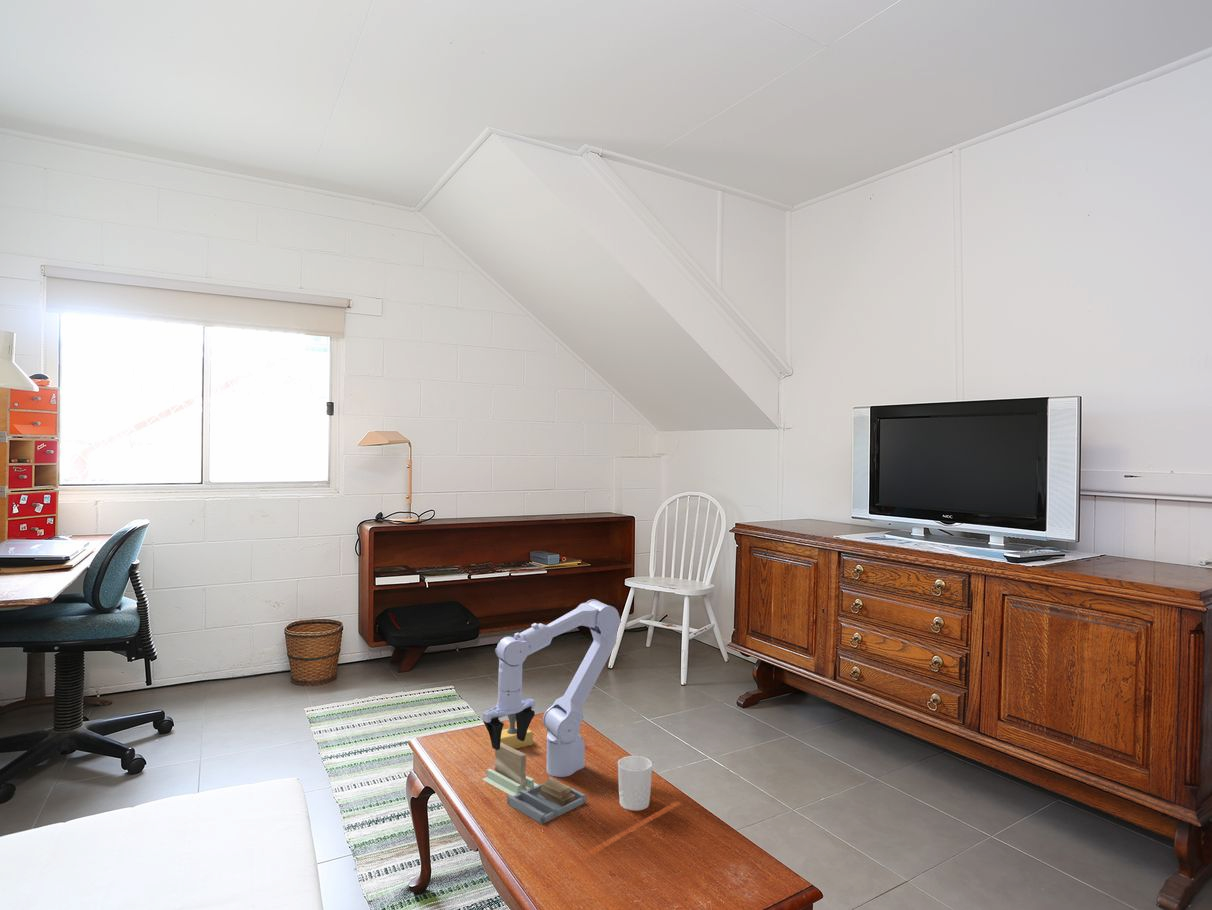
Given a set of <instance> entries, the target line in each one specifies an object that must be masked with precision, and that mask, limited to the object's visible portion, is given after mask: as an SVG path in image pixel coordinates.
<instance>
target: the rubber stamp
mask: <svg viewBox="0 0 1212 910" xmlns="http://www.w3.org/2000/svg"><path fill="white" fill-rule="evenodd" d="M507 717H508V721H509V727H508V728H505V729H502V733H501V743H503V744H505V745H507V746H509V747H511V748H513V749H515V750H517V749H521V748H524V747H528V746H532V745H534V732H533V731H532V730H531V729H530V728H528V730H527V733H526V737H525V740H524V741H521V740H519V739H517V726H516V723H517V722H516V715H515V714H510V715H507Z"/></svg>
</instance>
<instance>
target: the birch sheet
mask: <svg viewBox="0 0 1212 910" xmlns="http://www.w3.org/2000/svg"><path fill="white" fill-rule="evenodd" d="M494 750H495V752H494V753H495V755H494V756H495V757H494V765H495V767H494V771H496V772H498V773H500V774H501V775H503V776H505V777H507V778H509V779H511V780H513V781H514V782H516V783H518V784H520V785H521V790H522V789H525V788H526V776H527V773H526V772H527V754H525V753H524V752H521V751H519V750H517V749H513V748H511V747H509V746H507V745H505V744H503V743H500V749H499V750H496V749H494Z"/></svg>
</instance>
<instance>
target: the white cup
mask: <svg viewBox="0 0 1212 910" xmlns="http://www.w3.org/2000/svg"><path fill="white" fill-rule="evenodd" d="M652 769H653V763H652V760H650V759H648V758H647V757H645V756H640V755H628V756H624V757H621V758H620V759H618V760H617V781H618V782H617V783H618V794H619V795H618V797H619V804H620V806H621V807H622V808H623V809H625V810H627V811H642V810H645V809H647V808H649V805H650V802H651V801H650V800H651V799H650V797H651V792H652V791H651V790H652V789H651V788H652V775H653V774H652V771H653V770H652Z"/></svg>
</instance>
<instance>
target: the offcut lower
mask: <svg viewBox="0 0 1212 910" xmlns="http://www.w3.org/2000/svg"><path fill="white" fill-rule="evenodd" d="M540 795H541V796H543V797H545V798H547V799H549V800H551V801H552V802H554V803H556V804H558V805H560V806H562V807H563V806H565V805H567V804H569V803H571V802H573V801H575V795H574V794H572V793H569V794H567V795H566V796H564V797H562V798H558V797H555V796H553V795H551V794H548V793H546V792H544V791H541V789H540Z"/></svg>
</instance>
